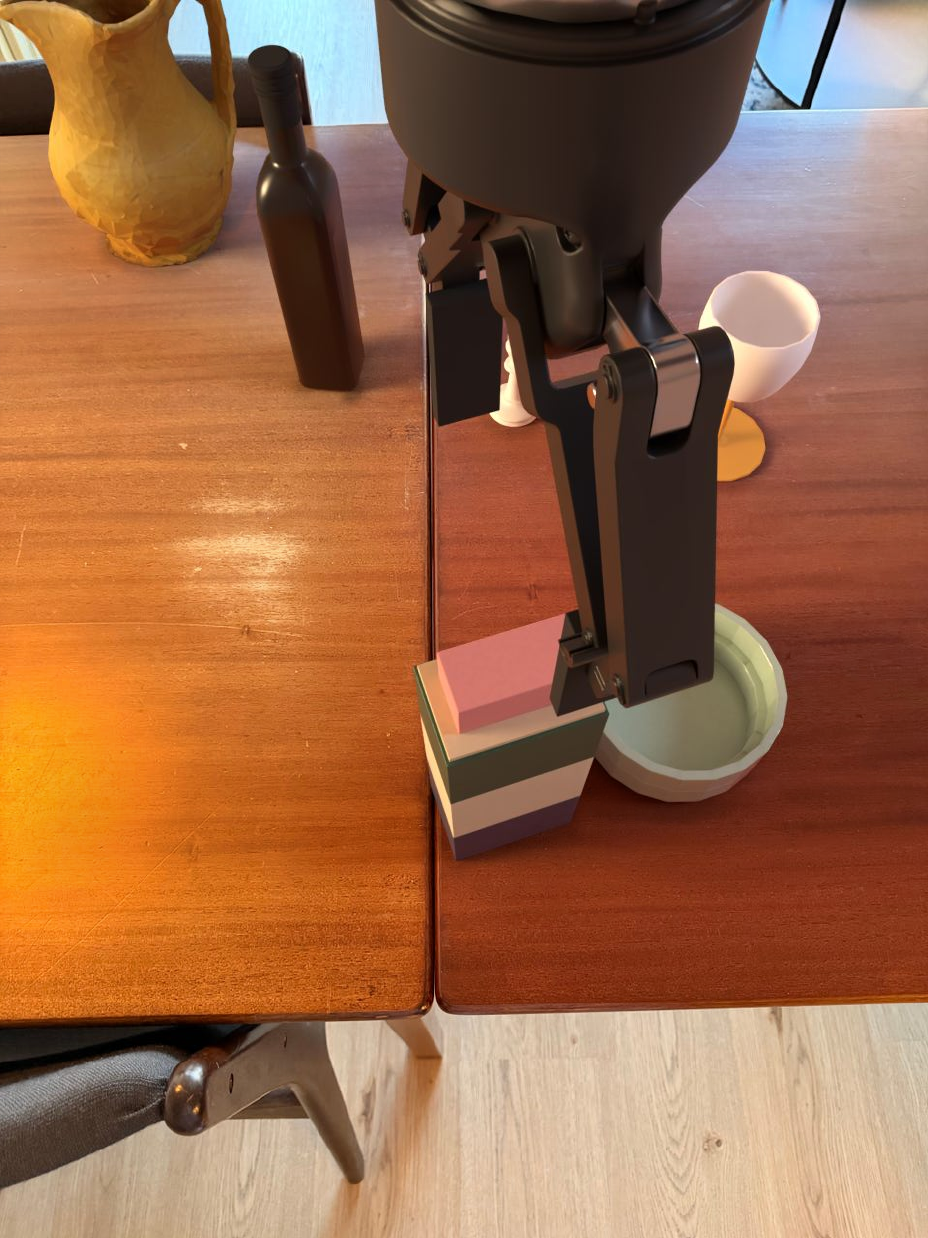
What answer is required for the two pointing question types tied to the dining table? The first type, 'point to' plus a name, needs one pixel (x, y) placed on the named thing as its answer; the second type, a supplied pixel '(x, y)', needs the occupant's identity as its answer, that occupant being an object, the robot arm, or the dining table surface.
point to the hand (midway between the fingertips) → (522, 542)
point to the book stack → (509, 782)
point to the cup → (758, 354)
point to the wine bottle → (305, 234)
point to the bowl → (701, 723)
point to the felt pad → (492, 733)
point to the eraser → (501, 674)
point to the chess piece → (511, 399)
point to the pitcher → (135, 123)
